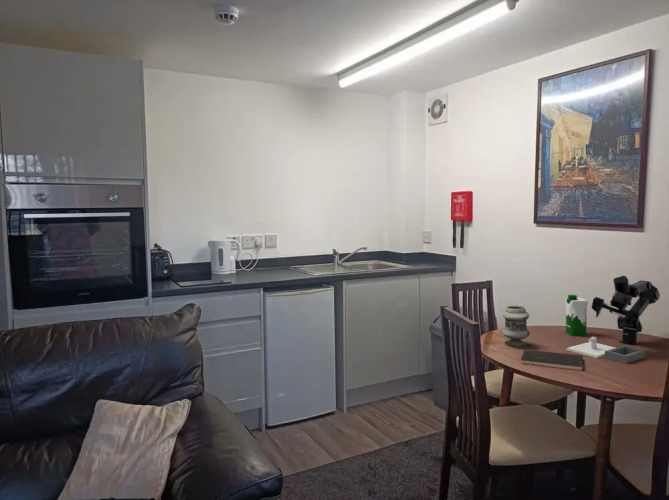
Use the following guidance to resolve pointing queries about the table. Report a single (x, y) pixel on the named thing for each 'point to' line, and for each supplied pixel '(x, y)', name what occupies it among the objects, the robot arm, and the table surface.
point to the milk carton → (576, 315)
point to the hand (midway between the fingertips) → (607, 320)
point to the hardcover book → (552, 359)
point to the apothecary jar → (515, 325)
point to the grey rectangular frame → (618, 355)
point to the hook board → (591, 348)
